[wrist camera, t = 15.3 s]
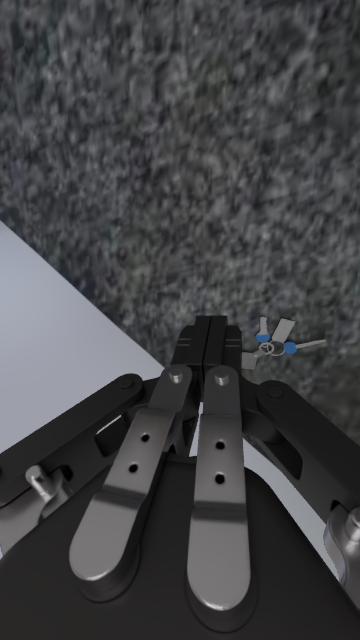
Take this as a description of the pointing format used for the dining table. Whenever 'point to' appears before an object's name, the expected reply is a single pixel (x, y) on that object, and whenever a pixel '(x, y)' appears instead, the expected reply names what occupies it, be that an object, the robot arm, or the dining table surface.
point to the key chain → (263, 336)
